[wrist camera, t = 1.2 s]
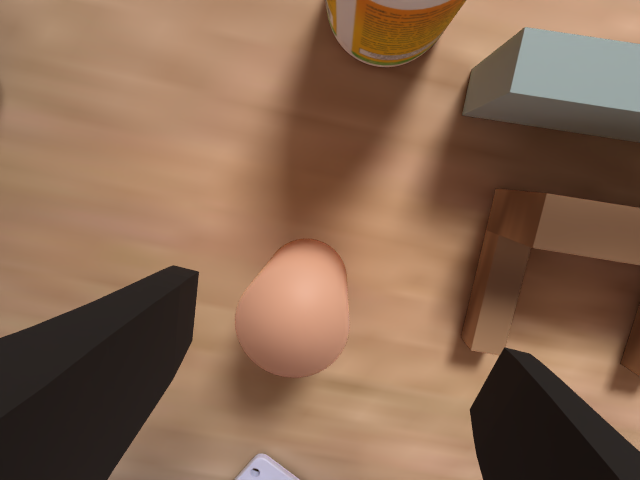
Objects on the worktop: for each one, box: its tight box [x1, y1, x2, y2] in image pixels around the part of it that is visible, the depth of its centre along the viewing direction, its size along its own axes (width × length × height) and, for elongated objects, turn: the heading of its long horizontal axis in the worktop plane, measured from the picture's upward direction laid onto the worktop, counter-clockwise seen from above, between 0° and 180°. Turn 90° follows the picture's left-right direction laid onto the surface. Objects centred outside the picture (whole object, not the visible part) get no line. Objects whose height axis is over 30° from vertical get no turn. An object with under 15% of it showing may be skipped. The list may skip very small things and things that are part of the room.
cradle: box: [461, 189, 640, 376], centre depth 16 cm, size 8×10×4 cm
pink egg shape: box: [235, 239, 350, 378], centre depth 16 cm, size 4×4×6 cm
